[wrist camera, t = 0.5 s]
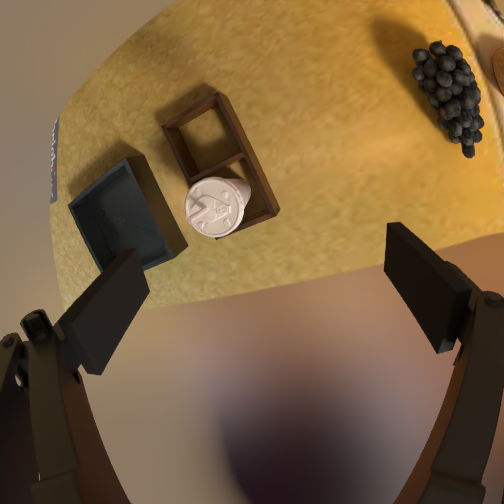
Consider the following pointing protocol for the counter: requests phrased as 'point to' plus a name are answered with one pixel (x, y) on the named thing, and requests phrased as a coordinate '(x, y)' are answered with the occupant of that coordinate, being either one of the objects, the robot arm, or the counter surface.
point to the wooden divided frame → (247, 152)
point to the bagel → (499, 68)
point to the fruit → (451, 93)
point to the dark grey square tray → (127, 216)
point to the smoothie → (216, 205)
